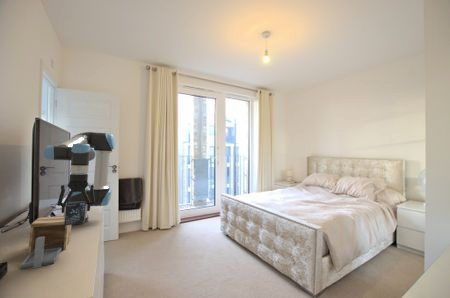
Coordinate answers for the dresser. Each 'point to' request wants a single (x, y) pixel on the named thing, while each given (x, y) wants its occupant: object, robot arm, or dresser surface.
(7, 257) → the dresser surface
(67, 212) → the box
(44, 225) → the cubby
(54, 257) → the tray
